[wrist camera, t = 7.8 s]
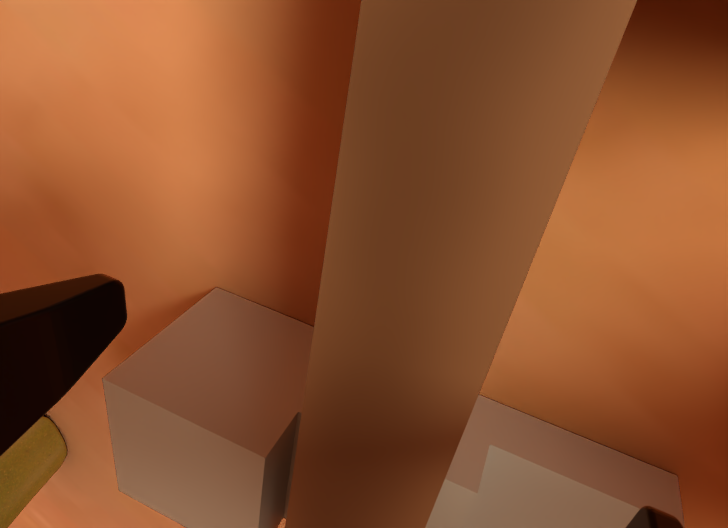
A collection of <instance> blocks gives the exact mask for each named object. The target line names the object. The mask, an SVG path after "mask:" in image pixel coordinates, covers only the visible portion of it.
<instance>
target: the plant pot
mask: <svg viewBox="0 0 728 528" xmlns="http://www.w3.org/2000/svg"><path fill="white" fill-rule="evenodd" d="M66 455H67V448H66V445H65V442H64V440H63V438H62V436H61V434H60V432H59V431H58V428H57V427H56V425H55V424H54V423H53V422H52V421H51V420H50V419H49V418H47V417H43V416H42V417H41V418H40V419H39V420H38V421H37V422H36V423H35V424H34V425H33V426H32V427H31V428H30V429H29V430H28V431H27V432H26V433H25V434H24V435H22V436H21V437H20V438H19V439H18V440H17V441H16V442H15V443H14V444H13V445H12V446H11V447H10V448H9V449H8V450H7V451H6V452H5V453H4V454H3V455H2V456H1V457H0V528H8V527H9V525H10V524H11V523H12V522H13V521H14V519H15V518H16V517H17V516H18V515H19V513H20V512H21V511H22V510H23V509H24V508H25V506H26V505H27V504H28V503H29V502H30V501H31V499H32V498H33V497H34V496H35V495H36V494H37V493H38V491H39V490H40V489H41V488H42V487H43V486H44V485H45V483H46V482H47V481H48V480H49V479H50V478H51V477H52V476H53V474H54V473H55V472H56V471H57V470H58V469H59V468H60V466H61V465H62V463H63V461H64V459H65V457H66Z"/></svg>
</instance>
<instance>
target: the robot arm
mask: <svg viewBox="0 0 728 528" xmlns="http://www.w3.org/2000/svg"><path fill="white" fill-rule="evenodd" d="M126 320H127V310H126V300H125V290H124V286H123V284H122V282H120V281H119V280H117V279H114V278H112V277H110V276H107V275H105V274H95V275H90V276H85V277H80V278H75V279H70V280H66V281H61V282H56V283H51V284H46V285H41V286H36V287H31V288H27V289H22V290H17V291H12V292H7V293H2V294H0V457H1V456H2V455H3V454H4V453H5V452H6V451H7V450H8V449H9V448H10V447H11V446H12V445H13V444H14V443H15V442H16V441H17V440H18V439H19V438H20V437H21V436H22V435H24V434H25V433H26V432H27V431H28V430H29V429H30V428H31V427H32V426H33V425H34V424H35V423H36V422H37V421H38V420H39V419H40V418H41V417H42V416H43V415H44V414H46V413H47V412H48V411H49V410H50V409H51V408H52V407H53V406H54V405H55V404H56V403H57V402H58V401H59V400H60V399H61V398H62V397H63V396H64V395H65V394H66V393H67V392H68V391H69V390H70V389H71V387H72V386H73V385H74V384H75V383H76V382H77V381H78V380H79V379H80V377H81V376H82V375H83V374H84V373H85V372H86V370H87V369H88V368H89V367H90V366H91V365H92V364H93V362H94V361H95V360H96V359H97V358H98V357H99V356H100V354H101V353H102V352H103V351H104V350H105V349H106V347H107V346H108V345H109V344H110V343H111V342H112V341H113V339H114V338H115V337H116V336H117V335H118V334H119V332H120V331H121V330H122V329H123V327H124V325H125V323H126ZM626 528H684V527H683V525H682V524H681V522H680V521H679V520H678V519H677V518H676V517H675V516H673V515H671V514H668V513H666V512H664V511H661V510H659V509H657V508H654V507H652V506H643V507H642V508H641V509H640V510H639V511H638V512H637V513H636V515H635V516H634V517H633V519H632V520H631V521H630V522H629V524H628V525H627V526H626Z"/></svg>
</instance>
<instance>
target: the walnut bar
mask: <svg viewBox="0 0 728 528" xmlns="http://www.w3.org/2000/svg"><path fill="white" fill-rule="evenodd" d="M636 2H637V0H361V6H360V13H359V20H358V27H357V34H356V41H355V48H354V54H353V61H352V68H351V75H350V82H349V89H348V96H347V103H346V110H345V117H344V124H343V130H342V137H341V144H340V151H339V158H338V165H337V172H336V179H335V186H334V193H333V200H332V206H331V213H330V220H329V227H328V234H327V241H326V248H325V255H324V262H323V269H322V276H321V282H320V289H319V296H318V303H317V310H316V317H315V324H314V331H313V338H312V345H311V352H310V358H309V365H308V372H307V379H306V386H305V393H304V400H303V407H302V414H301V421H300V428H299V434H298V441H297V448H296V455H295V462H294V469H293V476H292V483H291V490H290V497H289V504H288V510H287V517H286V524H285V528H425V527H426V525H427V522H428V520H429V517H430V515H431V512H432V510H433V507H434V505H435V502H436V500H437V497H438V495H439V492H440V490H441V487H442V485H443V482H444V480H445V477H446V475H447V472H448V470H449V467H450V465H451V462H452V460H453V457H454V455H455V452H456V450H457V447H458V445H459V443H460V440H461V438H462V435H463V433H464V430H465V428H466V425H467V423H468V420H469V418H470V415H471V413H472V410H473V408H474V405H475V403H476V400H477V398H478V395H479V393H480V390H481V388H482V385H483V383H484V380H485V378H486V375H487V373H488V370H489V368H490V365H491V363H492V360H493V358H494V355H495V353H496V350H497V348H498V345H499V343H500V340H501V338H502V336H503V333H504V331H505V328H506V326H507V323H508V321H509V318H510V316H511V313H512V311H513V308H514V306H515V303H516V301H517V298H518V296H519V293H520V291H521V288H522V286H523V283H524V281H525V278H526V276H527V273H528V271H529V268H530V266H531V263H532V261H533V258H534V256H535V253H536V251H537V248H538V246H539V243H540V241H541V238H542V236H543V233H544V231H545V229H546V226H547V224H548V221H549V219H550V216H551V214H552V211H553V209H554V206H555V204H556V201H557V199H558V196H559V194H560V191H561V189H562V186H563V184H564V181H565V179H566V176H567V174H568V171H569V169H570V166H571V164H572V161H573V159H574V156H575V154H576V151H577V149H578V146H579V144H580V141H581V139H582V136H583V134H584V131H585V129H586V127H587V124H588V122H589V119H590V117H591V114H592V112H593V109H594V107H595V104H596V102H597V99H598V97H599V94H600V92H601V89H602V87H603V84H604V82H605V79H606V77H607V74H608V72H609V69H610V67H611V64H612V62H613V59H614V57H615V54H616V52H617V49H618V47H619V44H620V42H621V39H622V37H623V34H624V32H625V29H626V27H627V24H628V22H629V20H630V17H631V15H632V12H633V10H634V7H635V5H636Z"/></svg>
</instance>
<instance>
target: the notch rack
mask: <svg viewBox="0 0 728 528" xmlns="http://www.w3.org/2000/svg"><path fill="white" fill-rule="evenodd" d="M313 331H314V327H313V326H310V325H308V324H305V323H303V322H300V321H298V320H296V319H293V318H291V317H288V316H286V315H283V314H281V313H278V312H276V311H274V310H271V309H269V308H266V307H264V306H261V305H259V304H256V303H254V302H252V301H249V300H247V299H244V298H242V297H239V296H237V295H234V294H232V293H230V292H227V291H225V290H222V289H220V288H217V287H216V288H214V289H213V290H212V291H211V292H209V293H208V294H207V295H206V296H204V297H203V298H202V299H201V300H199V301H198V302H197V303H196V304H194V305H193V306H192V307H191V308H189V309H188V310H187V311H186V312H184V313H183V314H182V315H181V316H179V317H178V318H177V319H176V320H174V321H173V322H172V323H171V324H169V325H168V326H167V327H166V328H164V329H163V330H162V331H161V332H159V333H158V334H157V335H156V336H154V337H153V338H152V339H151V340H149V341H148V342H147V343H146V344H144V345H143V346H142V347H141V348H139V349H138V350H137V351H136V352H134V353H133V354H132V355H131V356H129V357H128V358H127V359H126V360H125V361H123V362H122V363H121V364H120V365H118V366H117V367H116V368H115V369H113V370H112V371H111V372H110V373H108V374H107V375H106V376H105V377H103V378H102V381H103V388H104V395H105V401H106V408H107V415H108V422H109V428H110V435H111V442H112V448H113V455H114V462H115V469H116V475H117V482H118V489H119V491H120V492H122V493H124V494H126V495H128V496H130V497H131V498H133V499H135V500H137V501H139V502H140V503H142V504H144V505H146V506H148V507H150V508H151V509H153V510H155V511H157V512H159V513H160V514H162V515H164V516H166V517H168V518H170V519H171V520H173V521H175V522H177V523H179V524H181V525H182V526H184V527H186V528H277V527H278V525H279V524H280V522H281V520H282V519H283V518H285V519H286V517H287V510H288V504H289V497H290V490H291V483H292V476H293V469H294V462H295V455H296V448H297V441H298V434H299V428H300V421H301V414H302V407H303V400H304V393H305V386H306V379H307V372H308V365H309V358H310V352H311V345H312V338H313ZM643 506H652V507H654V508H657V509H659V510H661V511H664V512H666V513H668V514H671V515H673V516H675V517H676V518H677V519H678V520H679V521H680V522H681V524H682V525H683V527H684V528H685V525H684V518H683V510H682V503H681V496H680V489H679V481H678V476H677V475H674V474H672V473H669V472H667V471H664V470H662V469H660V468H657V467H655V466H652V465H650V464H647V463H645V462H642V461H640V460H638V459H635V458H633V457H630V456H628V455H625V454H623V453H620V452H618V451H616V450H613V449H611V448H608V447H606V446H603V445H601V444H598V443H596V442H594V441H591V440H589V439H586V438H584V437H581V436H579V435H576V434H574V433H572V432H569V431H567V430H564V429H562V428H559V427H557V426H554V425H552V424H550V423H547V422H545V421H542V420H540V419H537V418H535V417H532V416H530V415H528V414H525V413H523V412H520V411H518V410H515V409H513V408H511V407H508V406H506V405H503V404H501V403H498V402H496V401H493V400H491V399H489V398H486V397H484V396H481V395H478V398H477V400H476V403H475V405H474V408H473V410H472V413H471V415H470V418H469V420H468V423H467V425H466V428H465V430H464V433H463V435H462V438H461V440H460V443H459V445H458V447H457V450H456V452H455V455H454V457H453V460H452V462H451V465H450V467H449V470H448V472H447V475H446V477H445V480H444V482H443V485H442V487H441V490H440V492H439V495H438V497H437V500H436V502H435V505H434V507H433V510H432V512H431V515H430V517H429V520H428V522H427V525H426V527H425V528H626V526H627V525H628V524H629V522H630V521H631V520H632V519H633V517H634V516H635V515H636V513H637V512H638V511H639V510H640V509H641V508H642V507H643Z"/></svg>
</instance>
